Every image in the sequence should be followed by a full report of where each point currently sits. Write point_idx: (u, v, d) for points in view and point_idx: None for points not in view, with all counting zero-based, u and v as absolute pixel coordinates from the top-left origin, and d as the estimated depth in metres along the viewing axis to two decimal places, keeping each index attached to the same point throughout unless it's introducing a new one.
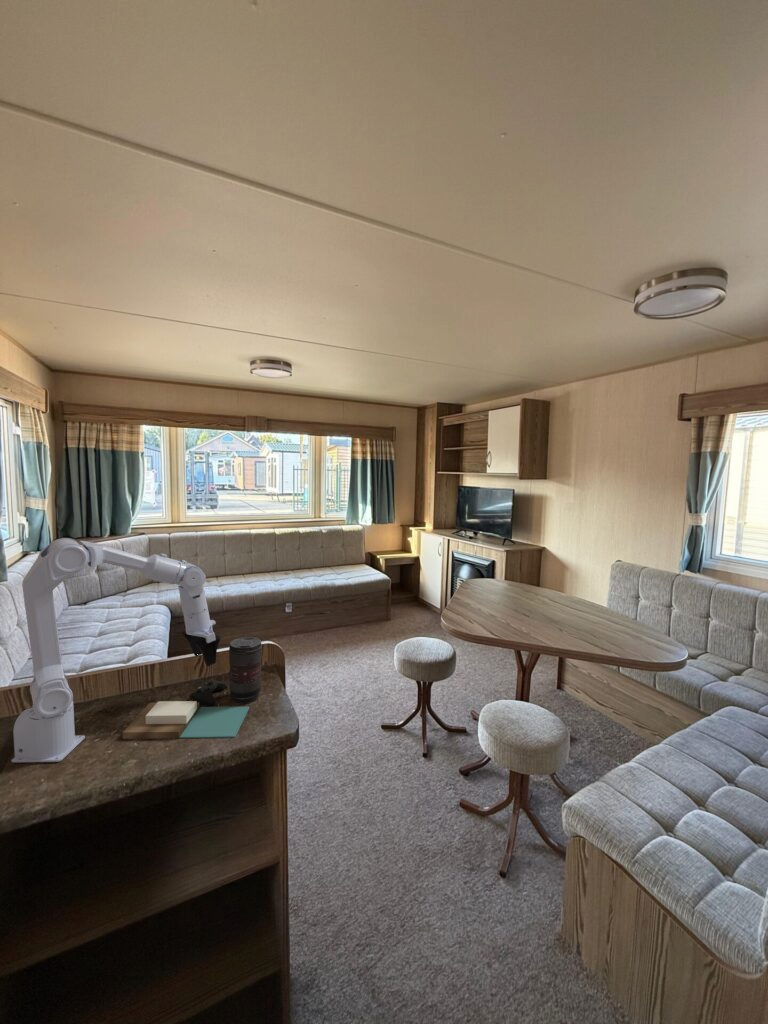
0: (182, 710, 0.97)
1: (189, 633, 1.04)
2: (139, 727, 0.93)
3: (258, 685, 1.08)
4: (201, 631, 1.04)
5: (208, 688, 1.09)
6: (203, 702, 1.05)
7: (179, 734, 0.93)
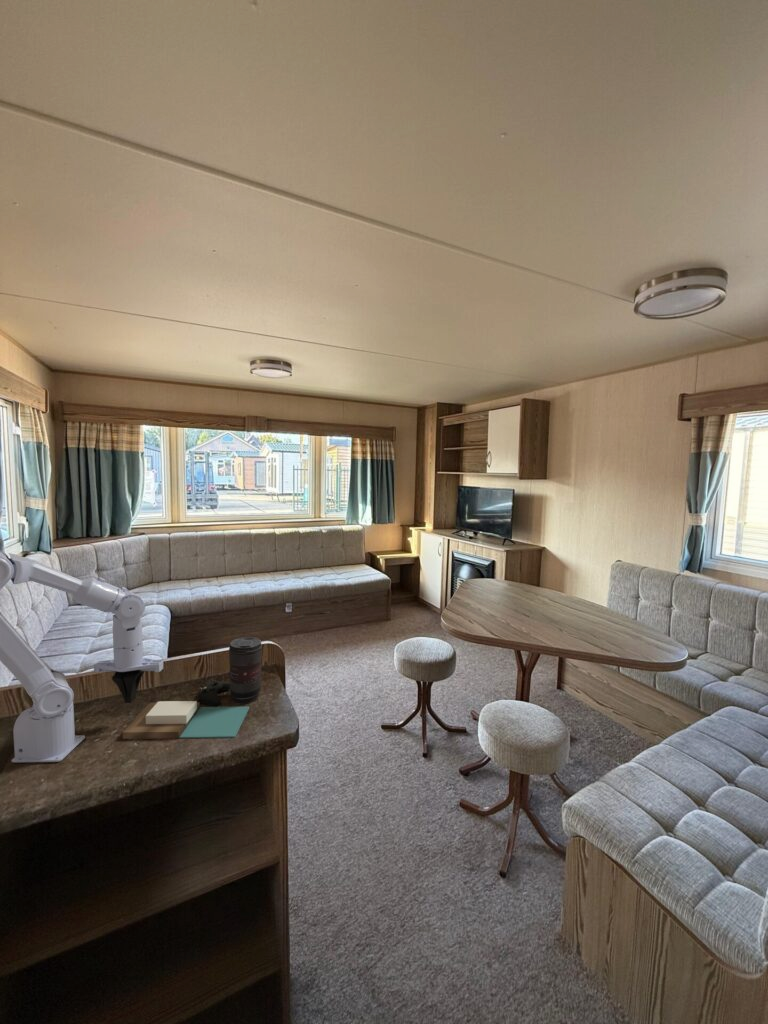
0: (182, 710, 0.97)
1: (127, 669, 0.94)
2: (139, 727, 0.93)
3: (258, 685, 1.08)
4: (141, 664, 0.96)
5: (213, 688, 1.09)
6: (209, 702, 1.05)
7: (179, 734, 0.93)
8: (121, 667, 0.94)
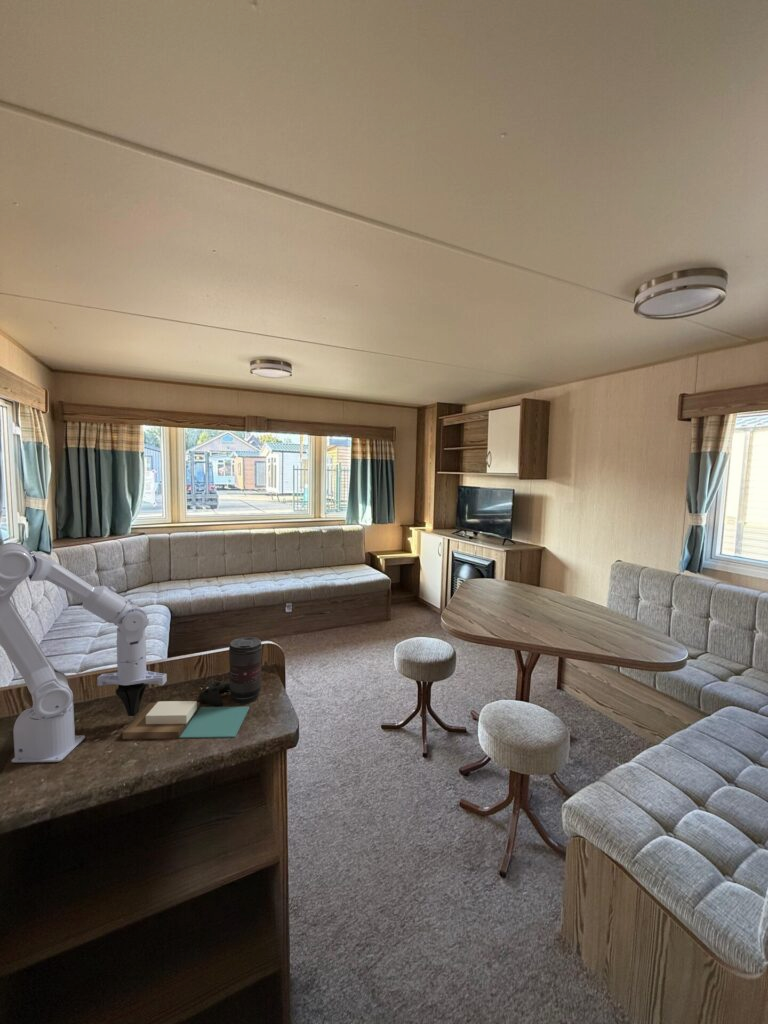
0: (182, 710, 0.97)
1: (131, 683, 0.94)
2: (139, 727, 0.93)
3: (258, 685, 1.08)
4: (144, 677, 0.96)
5: (215, 688, 1.09)
6: (211, 702, 1.05)
7: (179, 734, 0.93)
8: (125, 681, 0.94)
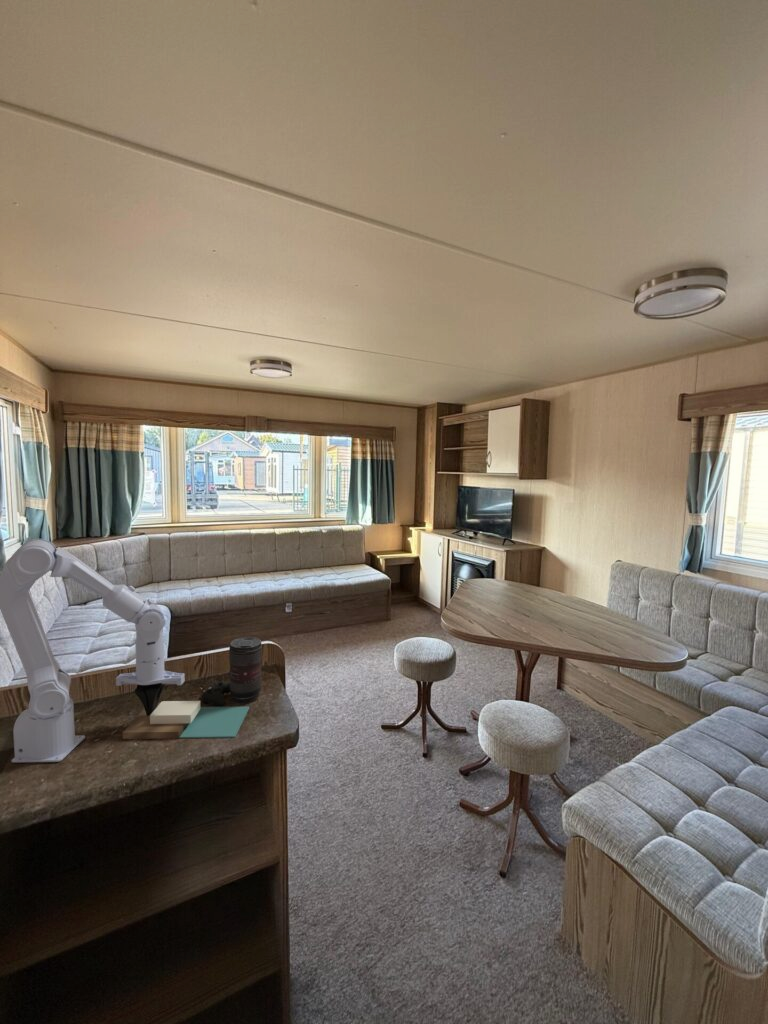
0: (186, 710, 0.97)
1: (149, 683, 0.94)
2: (139, 727, 0.93)
3: (258, 685, 1.08)
4: (163, 677, 0.97)
5: (218, 688, 1.09)
6: (214, 703, 1.05)
7: (179, 734, 0.93)
8: (144, 680, 0.94)
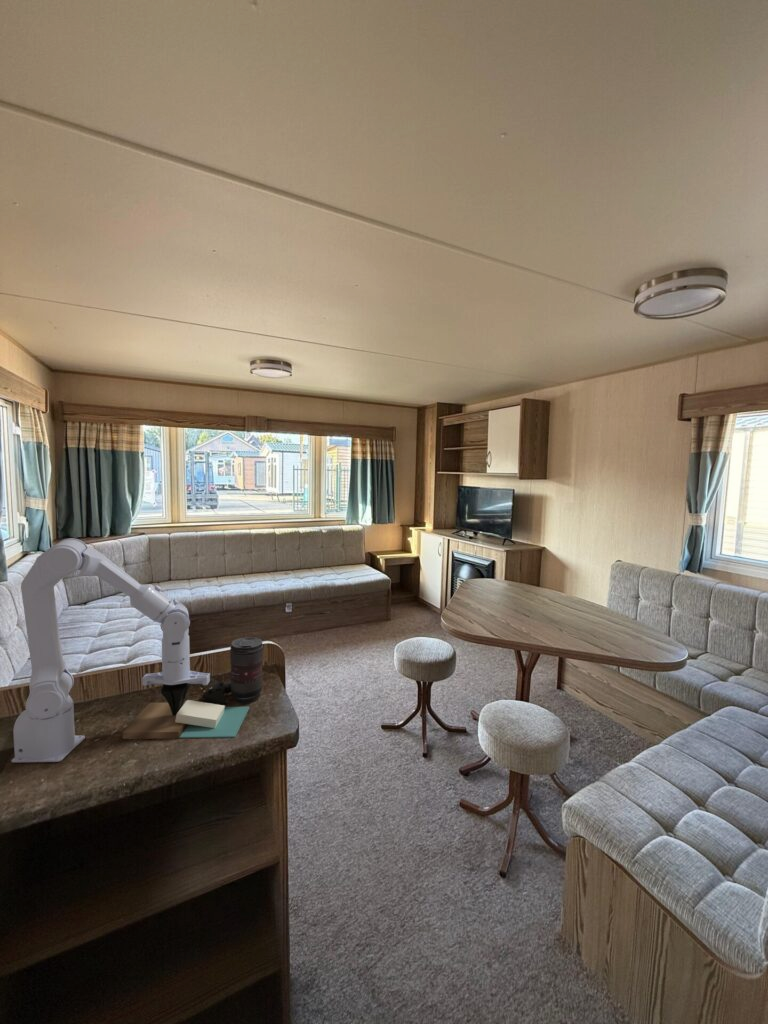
0: (211, 714, 0.97)
1: (176, 682, 0.95)
2: (139, 727, 0.93)
3: (259, 685, 1.08)
4: (188, 677, 0.97)
5: (219, 688, 1.09)
6: (215, 703, 1.05)
7: (179, 734, 0.93)
8: (170, 680, 0.94)
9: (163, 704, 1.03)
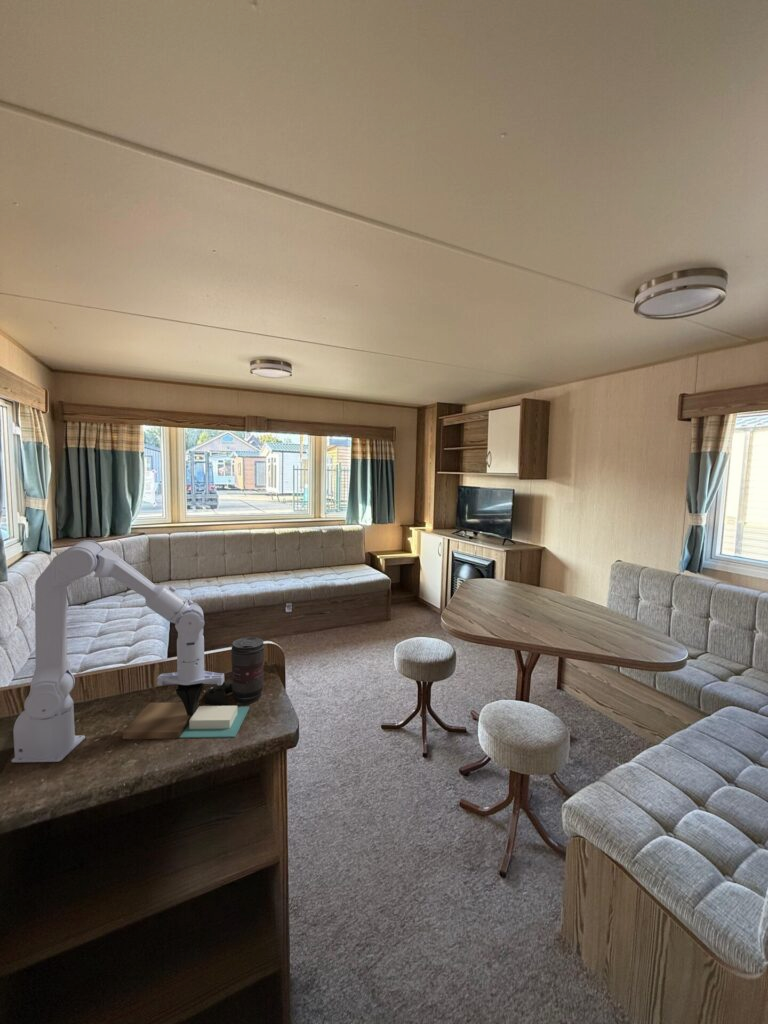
0: (224, 715, 0.98)
1: (191, 682, 0.95)
2: (139, 727, 0.93)
3: (260, 685, 1.08)
4: (203, 677, 0.97)
5: (220, 688, 1.09)
6: (216, 703, 1.05)
7: (179, 734, 0.93)
8: (185, 680, 0.95)
9: (163, 704, 1.03)
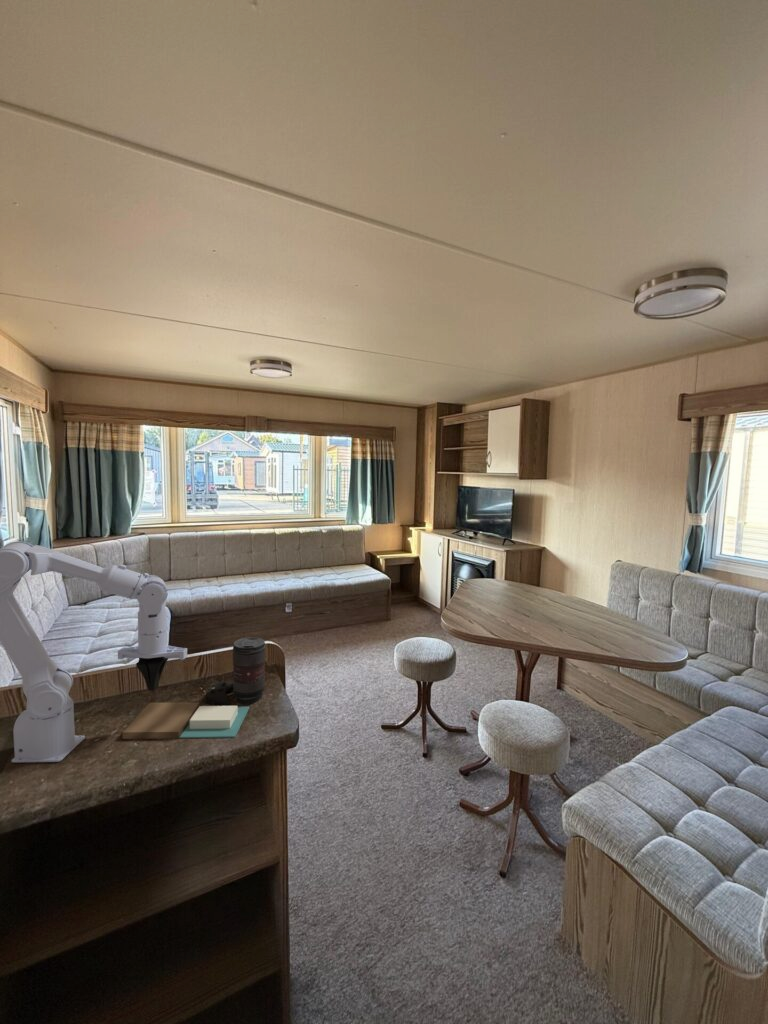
0: (224, 715, 0.98)
1: (152, 656, 0.93)
2: (139, 727, 0.93)
3: (261, 685, 1.08)
4: (165, 651, 0.95)
5: (222, 688, 1.09)
6: (217, 703, 1.05)
7: (179, 734, 0.93)
8: (146, 653, 0.92)
9: (163, 704, 1.03)
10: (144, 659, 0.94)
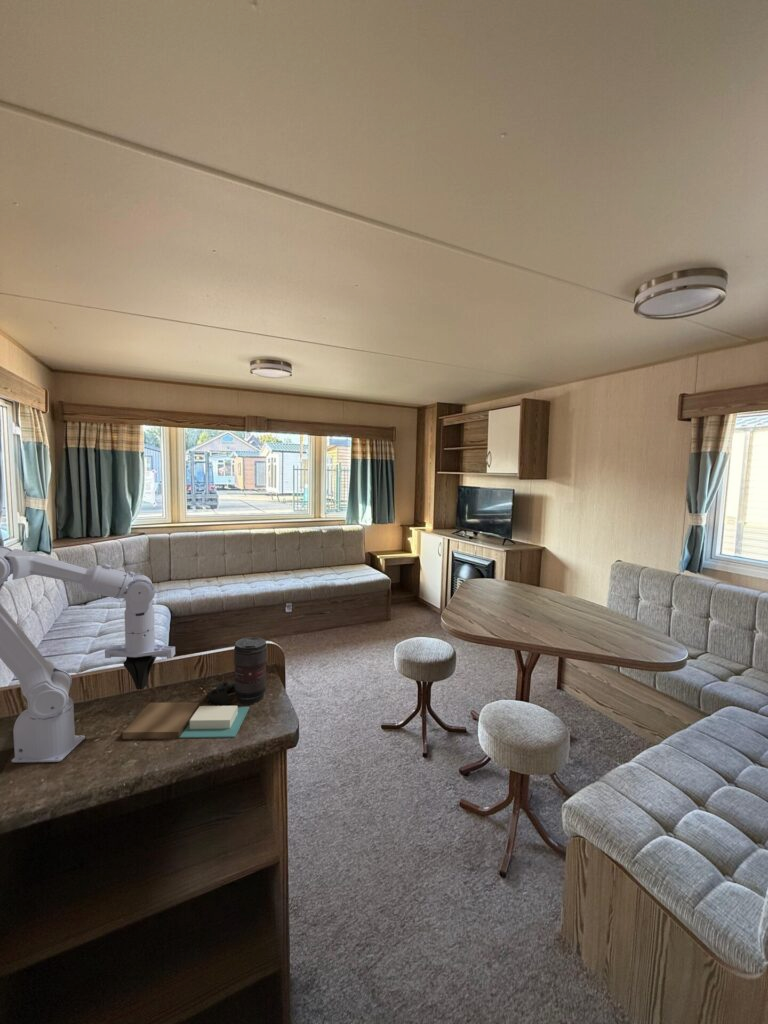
0: (224, 715, 0.98)
1: (139, 655, 0.92)
2: (139, 727, 0.93)
3: (263, 685, 1.08)
4: (153, 650, 0.94)
5: (223, 688, 1.09)
6: (219, 703, 1.05)
7: (179, 734, 0.93)
8: (133, 652, 0.92)
9: (163, 704, 1.03)
10: (131, 658, 0.94)
